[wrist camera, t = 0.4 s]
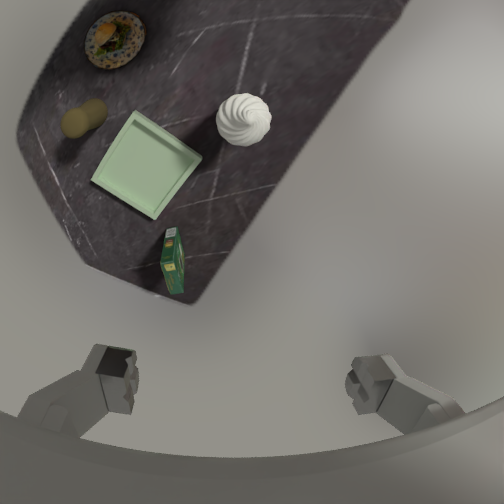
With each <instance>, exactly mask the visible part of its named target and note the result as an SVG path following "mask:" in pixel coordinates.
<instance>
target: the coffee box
mask: <svg viewBox="0 0 504 504" xmlns="http://www.w3.org/2000/svg"><path fill="white" fill-rule="evenodd" d="M184 258H185V254H184V250H183V247H182V243H181V239H180V235H179V230H178V227H177V226H176V227H172V228H167V229H166V233H165V239H164V244H163V250H162V256H161V261H160V265H161V268H162V271H163V274H164V277H165V280H166V283H167V286H168V289H169V292H170V294H178V293H183V291H184Z"/></svg>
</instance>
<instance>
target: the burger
mask: <svg viewBox="0 0 504 504" xmlns="http://www.w3.org/2000/svg"><path fill="white" fill-rule="evenodd" d="M145 36H146V27H145V24H143V21H142V20H141V19H140V18H139V16H138V15H137V14H135V13H132V12H128V11H113V12H109V13H107V14H105V15H103V16H101V17H100V18H99V19H97V20H96V21H94V23H93V24H92V25H91V26H90V28H89V30H88V31H87V33H86V37H85V40H84V52H85V54H86V57H87V59H88V60H89V62H91V63H92V64H93V65H94V66H95V67H98V68H100V69H103V70H113V69H116V68H120V67H122V66H124V65H126V64H127V63H129V62H130V61H131V60H132V59H133V58H134V57H136V56H137V55H138V53H139V51H140V49H141V47H142V45H143V43H144V41H145Z"/></svg>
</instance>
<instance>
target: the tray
mask: <svg viewBox="0 0 504 504" xmlns="http://www.w3.org/2000/svg"><path fill="white" fill-rule="evenodd" d="M201 160H202V156H201V155H200V154H198V153H197V152H196V151H194V150H193V149H191V148H190V147H189V146H187V145H186V144H184V143H183V142H182V141H180V140H179V139H177V138H176V137H174V136H173V135H171V134H170V133H169V132H167V131H166V130H164V129H163V128H161V127H160V126H158V125H157V124H155V123H154V122H152V121H151V120H150V119H148V118H147V117H145V116H144V115H142V114H141V113H139V112H138V111H136V110H135V111H134V112H133V113H132V114H131V116H130V117H129V119H128V120H127V122H126V123H125V125H124V126H123V128H122V129H121V131H120V132H119V134H118V135H117V137H116V138H115V140H114V141H113V143H112V145H111V146H110V148H109V149H108V151H107V153H106V154H105V156H104V158H103V159H102V161H101V163H100V165H99V166H98V168H97V170H96V171H95V173H94V175H93V177H92V179H91V180H92V181H93V182H95V183H96V184H98V185H99V186H101V187H103V188H104V189H106V190H107V191H109V192H110V193H112V194H114V195H115V196H117V197H118V198H120V199H122V200H123V201H125V202H126V203H128V204H130V205H131V206H133V207H134V208H136V209H138V210H139V211H141V212H143V213H144V214H146V215H147V216H149V217H151V218H152V219H154V220H156V218H157V217H158V216H159V214H160V213H161V212H162V210H163V209H164V208H165V206H166V205H167V204H168V202H169V201H170V200H171V198H172V197H173V196H174V194H175V193H176V192H177V191H178V189H179V188H180V187H181V185H182V184H183V183H184V182H185V180H186V179H187V178H188V177H189V175H190V174H191V173H192V172H193V170H194V169H195V168H196V167H197V165H198V164H199V163H200V162H201Z"/></svg>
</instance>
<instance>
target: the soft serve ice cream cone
mask: <svg viewBox="0 0 504 504" xmlns="http://www.w3.org/2000/svg"><path fill="white" fill-rule="evenodd" d="M270 121H271V114H270V113H269V109H268V106H267V105H266V104H265V103H264V102H263V101H262V100H261V99H260V98H259V97H256V96H252V95H251V94H247V93H244V94H237V95H233V96H231V97H230V98H229V99H227V100H225V101H224V102H223V103H222V104H221V105H220V108H219V111H218V112H217V115H216V124H217V127H218V131H219V133H220V135H221V136H222V137H223V138H225V139H226V140H227V141H228V142H229V143H231V144H233V145H241V146H249V145H251V144H253V143H256V142H258V141H260V140H261V139H262V138H263V136H264V135H265V134H266V133H267V132H268V131H269V129H270V124H269V123H270Z"/></svg>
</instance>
